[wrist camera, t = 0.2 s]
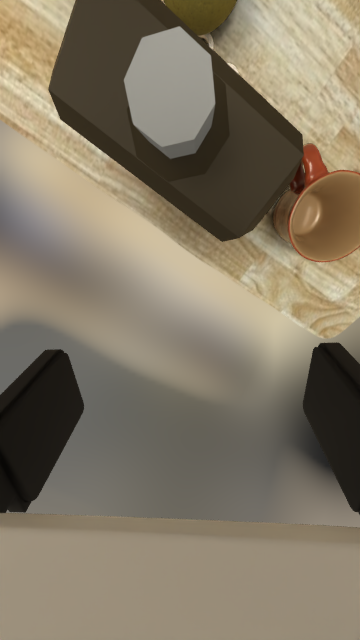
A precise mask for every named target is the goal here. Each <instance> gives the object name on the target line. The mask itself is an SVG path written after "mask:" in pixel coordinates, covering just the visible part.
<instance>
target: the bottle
mask: <svg viewBox="0 0 360 640" xmlns="http://www.w3.org/2000/svg"><path fill="white" fill-rule="evenodd" d="M48 90H49V92H50V95H51V97H52V99H53V102H54V104H55V107H56V109H57V112H58V114H59V116H60V119H61V120H62V121H63V122H65V123H66V124H67V125H69V126H70V127H71V128H73V129H74V130H75V131H77V132H78V133H79V134H81V135H82V136H83V137H84V138H86V139H87V140H88V141H90V142H91V143H92V144H94V145H95V146H96V147H98V148H99V149H100V150H102V151H103V152H104V153H106V154H107V155H108V156H110V157H111V158H112V159H113V160H115V161H116V162H117V163H119V164H120V165H121V166H123V167H124V168H125V169H127V170H128V171H129V172H131V173H132V174H133V175H135V176H136V177H137V178H139V179H140V180H141V181H142V182H144V183H145V184H146V185H148V186H149V187H150V188H152V189H153V190H154V191H156V192H157V193H158V194H160V195H161V196H162V197H164V198H165V199H166V200H168V201H169V202H170V203H171V204H173V205H174V206H175V207H177V208H178V209H179V210H181V211H182V212H183V213H185V214H186V215H187V216H189V217H190V218H191V219H193V220H194V221H195V222H196V223H198V224H199V225H200V226H202V227H203V228H204V229H206V230H207V231H208V232H210V233H211V234H212V235H214V236H215V237H216V238H218V239H219V240H220V241H222V242H223V241H228V240H232V239H236V238H240V237H242V236H243V235H245V234H247V233H248V232H250V231H252V230H253V229H254V228H255V227H256V226H257V224H258V223H259V222H260V221H261V219H262V218H263V217H264V216H265V214H266V213H267V212H268V210H269V209H270V208H271V207H272V205H273V204H274V203H275V202H276V200H277V199H278V198H279V197H280V195H281V194H282V193H283V192H284V190H285V189H286V188H287V186H288V185H289V184H290V183H291V181H292V180H293V179H294V177H295V175H296V172H297V170H298V167H299V165H300V163H301V160H302V158H303V156H304V151H303V138H302V134H301V133H300V132H299V131H298V130H297V129H296V128H295V127H294V126H293V125H292V124H291V123H289V122H288V121H287V120H286V119H285V118H284V117H283V116H282V115H281V114H280V113H279V112H278V111H277V110H276V109H275V108H274V107H273V106H272V105H270V104H269V103H268V102H267V101H266V100H265V99H264V98H263V97H262V96H261V95H260V94H259V93H258V92H257V91H256V90H255V89H254V88H253V87H251V86H250V85H249V84H248V83H247V82H246V81H245V80H244V79H243V78H242V77H241V76H240V75H239V74H238V73H237V72H236V71H235V70H234V69H232V68H231V67H230V66H229V65H228V64H227V63H226V62H225V61H224V60H223V59H222V58H221V57H220V56H219V55H218V54H217V53H216V52H215V51H213V50H212V49H211V48H210V47H209V46H208V45H207V44H206V43H205V42H204V41H203V40H202V39H201V38H200V37H199V36H198V35H197V34H195V33H194V32H193V31H192V30H191V29H190V28H189V27H188V26H187V25H186V24H185V23H184V22H183V21H182V20H181V19H180V18H179V17H178V16H176V15H175V14H174V13H173V12H172V11H171V10H170V9H169V8H168V7H167V6H166V5H165V4H164V3H163V2H162V1H161V0H76V1H75V4H74V7H73V10H72V13H71V16H70V19H69V22H68V26H67V29H66V32H65V35H64V38H63V41H62V44H61V47H60V50H59V53H58V56H57V59H56V62H55V65H54V69H53V72H52V76H51V81H50V85H49V89H48Z"/></svg>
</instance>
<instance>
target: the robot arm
mask: <svg viewBox="0 0 360 640" xmlns="http://www.w3.org/2000/svg"><path fill="white" fill-rule="evenodd" d="M303 409H304V412H305V415H306V417H307V419H308V421H309V423H310V425H311V427H312V429H313V431H314V433H315V435H316V437H317V439H318V441H319V443H320V446H321V448H322V450H323V452H324V454H325V456H326V458H327V460H328V462H329V464H330V466H331V468H332V470H333V472H334V474H335V476H336V478H337V480H338V483H339V484H340V487H341V489H342V491H343V493H344V495H345V497H346V499H347V501H348V503H349V505H350V507H351V508H352V509H353V511H355V512H359V514H360V364H359V363H358V362H357V361H356V360H355V359H354V358H353V357H352V356H351V355H350V354H349V352H348V351H347V350H346V349H345V348H344V347H343V346H342V345H341V344H340V343H320V345H319V346H318V347H315V348H314V349H313V353H312V359H311V364H310V369H309V374H308V379H307V384H306V390H305V395H304V400H303ZM83 410H84V403H83V400H82V397H81V394H80V391H79V387H78V384H77V381H76V378H75V375H74V372H73V369H72V365H71V363H70V360H69V356H68V354H67V353H64V351H63V350H61V349H60V350H45V351H44V352H43V353H42V354H41V355H40V356H39V357H38V358H37V359H36V360H35V361H34V362H33V363H32V364H31V365H30V366H29V367H28V368H27V369H26V370H25V371H24V372H23V373H22V374H21V375H20V376H19V377H18V378H17V379H16V380H15V381H14V382H13V383H12V384H11V385H10V386H9V387H8V388H7V389H6V390H5V391H4V392H3V393H2V394H1V395H0V640H360V528H357V527H342V526H326V525H306V524H305V525H304V524H284V523H261V522H260V523H259V522H238V521H216V520H192V519H167V518H141V517H113V516H86V515H57V514H27V513H6V511H7V509H8V510H9V511H10V512H26V511H27V509H28V507H29V505H30V503H31V501H33V500H35V499H36V498H37V497H38V495H39V493H40V492H41V490H42V488H43V486H44V484H45V482H46V480H47V479H48V477H49V475H50V473H51V471H52V469H53V467H54V465H55V463H56V461H57V460H58V458H59V456H60V454H61V452H62V451H63V449H64V447H65V445H66V443H67V441H68V439H69V437H70V436H71V434H72V432H73V430H74V428H75V426H76V424H77V423H78V421H79V419H80V417H81V415H82V413H83Z"/></svg>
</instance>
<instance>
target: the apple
mask: <svg viewBox="0 0 360 640" xmlns="http://www.w3.org/2000/svg"><path fill="white" fill-rule="evenodd" d="M164 2H165V4H166V6H167V7H168V8H169V9H170V10H171V11H172V12H173V13H174V14H175V15H176V16H178V17H179V18H180V19H181V20H182V21H183V22H184V23H185V24H186V25H187V26H188V27H189V28H190V29H191V30H192V31H193V32H194V33H195V34H197V35H198V36H201V35H205V34H208V33H210V32H212V31H213V30H215V29H216V28H217V27H219V26H220V25H221V24H222V23H223V22H224V21H225V20H226V18H227V17H228V16H229V14H230V13H231V11H232V10H233V8H234V6H235V4H236V2H237V0H164Z"/></svg>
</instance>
